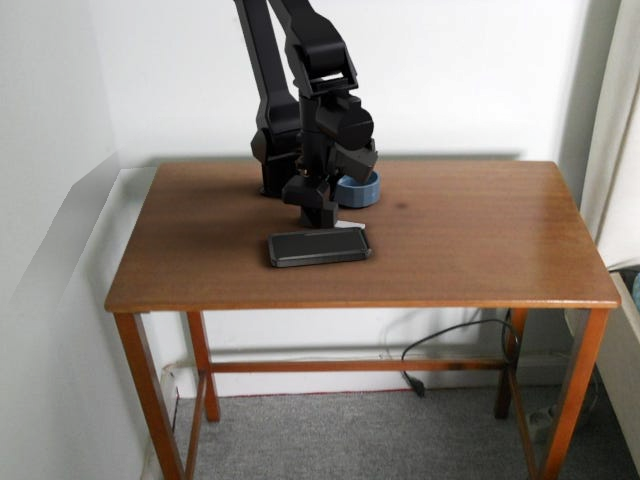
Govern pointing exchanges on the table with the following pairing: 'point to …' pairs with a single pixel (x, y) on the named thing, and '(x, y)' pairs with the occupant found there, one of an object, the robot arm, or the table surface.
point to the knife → (329, 218)
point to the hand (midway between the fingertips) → (322, 220)
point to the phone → (318, 246)
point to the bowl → (358, 191)
